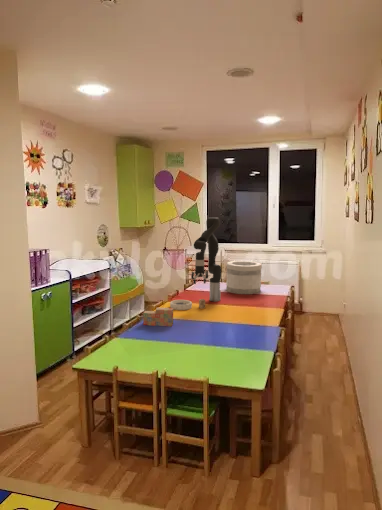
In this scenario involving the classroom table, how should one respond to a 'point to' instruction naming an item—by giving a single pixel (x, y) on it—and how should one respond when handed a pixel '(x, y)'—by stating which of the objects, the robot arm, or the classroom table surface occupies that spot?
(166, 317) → the stack of blocks
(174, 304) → the grey ring
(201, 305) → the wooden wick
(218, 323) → the classroom table surface
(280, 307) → the classroom table surface
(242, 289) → the storage basket
